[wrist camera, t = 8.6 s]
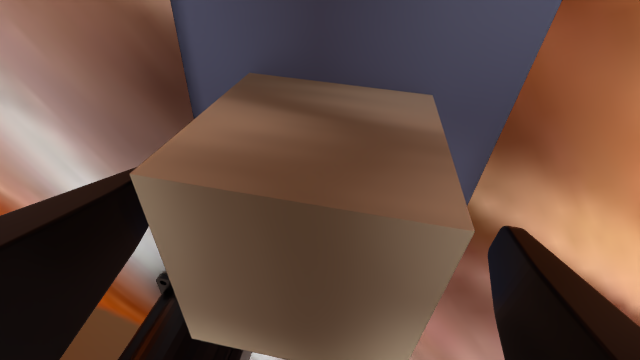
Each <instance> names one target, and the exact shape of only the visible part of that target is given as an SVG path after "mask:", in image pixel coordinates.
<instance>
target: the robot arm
mask: <svg viewBox="0 0 640 360" xmlns="http://www.w3.org/2000/svg"><path fill="white" fill-rule="evenodd" d="M136 168H137V167H136ZM136 168H133V169H130V170H127V171H124V172H122V173H119V174H116V175H113V176H110V177H108V178H105V179H102V180H99V181H96V182H94V183H91V184H88V185H85V186H82V187H80V188H77V189H74V190H71V191H68V192H66V193H63V194H60V195H57V196H54V197H52V198H49V199H46V200H43V201H40V202H38V203H35V204H32V205H29V206H26V207H23V208H21V209H18V210H15V211H12V212H9V213H7V214H4V215H1V216H0V360H60V358H61V357H62V355H63V354H64V352H65V351H66V349H67V348H68V347H69V345H70V344H71V342H72V341H73V339H74V338H75V336H76V335H77V334H78V332H79V331H80V329H81V328H82V326H83V325H84V323H85V322H86V320H87V319H88V317H89V316H90V315H91V313H92V312H93V310H94V309H95V307H96V306H97V305H98V303H99V302H100V300H101V299H102V297H103V296H104V294H105V293H106V291H107V290H108V289H109V287H110V286H111V284H112V283H113V281H114V280H115V278H116V277H117V275H118V274H119V273H120V271H121V270H122V268H123V267H124V265H125V264H126V262H127V261H128V260H129V258H130V257H131V255H132V254H133V252H134V251H135V249H136V248H137V246H138V244H139V243H140V241H141V239H142V237H143V235H144V234H145V232H146V230H147V228H148V226H149V224H148V222H147V219H146V216H145V214H144V211H143V209H142V206H141V203H140V201H139V198H138V195H137V193H136V190H135V188H134V185H133V182H132V180H131V177H130V173H131V172H132V171H133V170H135V169H136ZM488 263H489V272H490V281H491V289H492V298H493V307H494V314H495V319H496V324H497V328H498V333H499V337H500V341H501V345H502V350H503V354H504V358H505V360H640V326H638V325H637V324H636V323H635V322H634V321H632V320H631V319H630V318H629V317H628V316H626V315H625V314H624V313H623V312H622V311H621V310H619V309H618V308H617V307H616V306H615V305H613V304H612V303H611V302H610V301H609V300H607V299H606V298H605V297H604V296H603V295H602V294H600V293H599V292H598V291H597V290H596V289H594V288H593V287H592V286H591V285H590V284H588V283H587V282H586V281H585V280H584V279H582V278H581V277H580V276H579V275H578V274H577V273H575V272H574V271H573V270H572V269H571V268H569V267H568V266H567V265H566V264H565V263H563V262H562V261H561V260H560V259H559V258H558V257H556V256H555V255H554V254H553V253H552V252H550V251H549V250H548V249H547V248H546V247H544V246H543V245H542V244H541V243H540V242H539V241H537V240H536V239H535V238H534V237H533V236H531V235H530V234H529V233H528V232H527V231H525V230H524V229H522V228H518V227H512V226H503V227H502V228H501V229H500V230H499V232H498V234H497V235H496V237H495V239H494V241H493V242H492V244H491V246H490V248H489V251H488ZM156 282H157V284H158V287H159V289H160V292H161V296H160V297H159V299H158V300H157V302H156V303H155V305H154V306H153V308H152V309H151V311H150V312H149V314H148V315H147V317H146V318H145V320H144V321H143V323H142V324H141V326H140V327H139V329H138V330H137V332H136V333H135V335H134V336H133V338H132V339H131V341H130V342H129V344H128V345H127V347H126V348H125V350H124V351H123V353H122V354H121V356H120V357H119V359H118V360H249V359H250V356H251V353H252V352H251V351H246V350H242V349H237V348H233V347H228V346H224V345H219V344H215V343H210V342H206V341H201V340H197V339H192V337H191V335H190V332H189V329H188V327H187V324H186V322H185V319H184V316H183V314H182V311H181V308H180V306H179V303H178V301H177V298H176V295H175V293H174V290H173V287H172V285H171V282H170V280H169V277H168V274H164V273H162V274H160V275H159V277H158V278H157V279H156Z"/></svg>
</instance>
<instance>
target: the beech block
mask: <svg viewBox="0 0 640 360" xmlns="http://www.w3.org/2000/svg"><path fill="white" fill-rule="evenodd" d="M130 177H131V180H132V182H133V185H134V188H135V190H136V193H137V195H138V198H139V201H140V203H141V206H142V209H143V211H144V214H145V216H146V219H147V222H148V224H149V227H150V230H151V232H152V235H153V237H154V240H155V243H156V245H157V248H158V251H159V253H160V256H161V258H162V261H163V264H164V266H165V269H166V272H167V274H168V277H169V280H170V282H171V285H172V287H173V290H174V293H175V295H176V298H177V301H178V303H179V306H180V308H181V311H182V314H183V316H184V319H185V322H186V324H187V327H188V329H189V332H190V335H191V337H192V339H197V340H201V341H206V342H210V343H215V344H219V345H224V346H228V347H233V348H237V349H242V350H246V351H251V352H255V353H259V354H264V355H268V356H273V357H277V358H282V359H286V360H409V358H410V356H411V355H412V353H413V351H414V349H415V347H416V345H417V343H418V341H419V339H420V337H421V335H422V333H423V331H424V329H425V327H426V325H427V323H428V321H429V320H430V318H431V316H432V314H433V312H434V310H435V308H436V306H437V304H438V302H439V300H440V298H441V296H442V294H443V292H444V290H445V288H446V286H447V285H448V283H449V281H450V279H451V277H452V275H453V273H454V271H455V269H456V267H457V265H458V263H459V261H460V259H461V257H462V255H463V253H464V251H465V250H466V248H467V246H468V244H469V242H470V240H471V238H472V236H473V234H474V232H475V231H474V227H473V224H472V221H471V218H470V214H469V211H468V208H467V205H466V201H465V198H464V195H463V192H462V189H461V185H460V182H459V179H458V176H457V172H456V169H455V166H454V163H453V159H452V156H451V153H450V150H449V147H448V143H447V140H446V137H445V134H444V130H443V127H442V124H441V121H440V117H439V114H438V111H437V108H436V105H435V101H434V98H433V95H427V94H419V93H411V92H403V91H394V90H386V89H378V88H370V87H362V86H353V85H345V84H337V83H329V82H321V81H313V80H304V79H296V78H288V77H280V76H272V75H264V74H255V73H249V74H247V75H246V76H245V77H244V78H243V79H241V80H240V81H239V82H238V83H237V84H236V85H234V86H233V87H232V88H231V89H230V90H228V91H227V92H226V93H225V94H224V95H222V96H221V97H220V98H219V99H218V100H217V101H215V102H214V103H213V104H212V105H211V106H209V107H208V108H207V109H206V110H205V111H203V112H202V113H201V114H200V115H199V116H198V117H196V118H195V119H194V120H193V121H192V122H190V123H189V124H188V125H187V126H186V127H184V128H183V129H182V130H181V131H180V132H179V133H177V134H176V135H175V136H174V137H173V138H171V139H170V140H169V141H168V142H167V143H165V144H164V145H163V146H162V147H161V148H160V149H158V150H157V151H156V152H155V153H154V154H152V155H151V156H150V157H149V158H148V159H146V160H145V161H144V162H143V163H142V164H141V165H139V166H138V167H137V168H136V169H135V170H133V171H132V172H131V173H130Z"/></svg>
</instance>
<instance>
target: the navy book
mask: <svg viewBox="0 0 640 360" xmlns="http://www.w3.org/2000/svg"><path fill="white" fill-rule="evenodd" d="M170 1H171V6H172V11H173V16H174V21H175V26H176V31H177V36H178V42H179V47H180V52H181V57H182V62H183V67H184V72H185V77H186V82H187V87H188V92H189V97H190V102H191V107H192V112H193V117H194V119H195V118H196V117H198V116H199V115H200V114H201V113H202V112H203V111H205V110H206V109H207V108H208V107H209V106H211V105H212V104H213V103H214V102H215V101H217V100H218V99H219V98H220V97H221V96H222V95H224V94H225V93H226V92H227V91H228V90H230V89H231V88H232V87H233V86H234V85H236V84H237V83H238V82H239V81H240V80H241V79H243V78H244V77H245V76H246V75H247V74H249V73H255V74H264V75H272V76H280V77H288V78H296V79H304V80H313V81H321V82H329V83H337V84H345V85H353V86H362V87H370V88H378V89H386V90H394V91H403V92H411V93H419V94H427V95H433V98H434V101H435V105H436V108H437V111H438V114H439V117H440V121H441V124H442V127H443V130H444V134H445V137H446V140H447V143H448V147H449V150H450V153H451V156H452V159H453V163H454V166H455V169H456V172H457V176H458V179H459V182H460V185H461V189H462V192H463V195H464V198H465V201H466V205H468V203H469V201H470V199H471V197H472V194H473V192H474V190H475V188H476V186H477V184H478V181H479V179H480V177H481V175H482V173H483V171H484V168H485V166H486V164H487V162H488V160H489V158H490V155H491V153H492V151H493V149H494V147H495V145H496V142H497V140H498V138H499V136H500V134H501V132H502V129H503V127H504V125H505V123H506V121H507V119H508V116H509V114H510V112H511V110H512V108H513V106H514V103H515V101H516V99H517V97H518V95H519V93H520V90H521V88H522V86H523V84H524V82H525V80H526V77H527V75H528V73H529V71H530V69H531V67H532V64H533V62H534V60H535V58H536V56H537V54H538V51H539V49H540V47H541V45H542V43H543V41H544V38H545V36H546V34H547V32H548V30H549V28H550V25H551V23H552V21H553V19H554V17H555V15H556V12H557V10H558V8H559V6H560V4H561V2H562V0H170Z"/></svg>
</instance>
